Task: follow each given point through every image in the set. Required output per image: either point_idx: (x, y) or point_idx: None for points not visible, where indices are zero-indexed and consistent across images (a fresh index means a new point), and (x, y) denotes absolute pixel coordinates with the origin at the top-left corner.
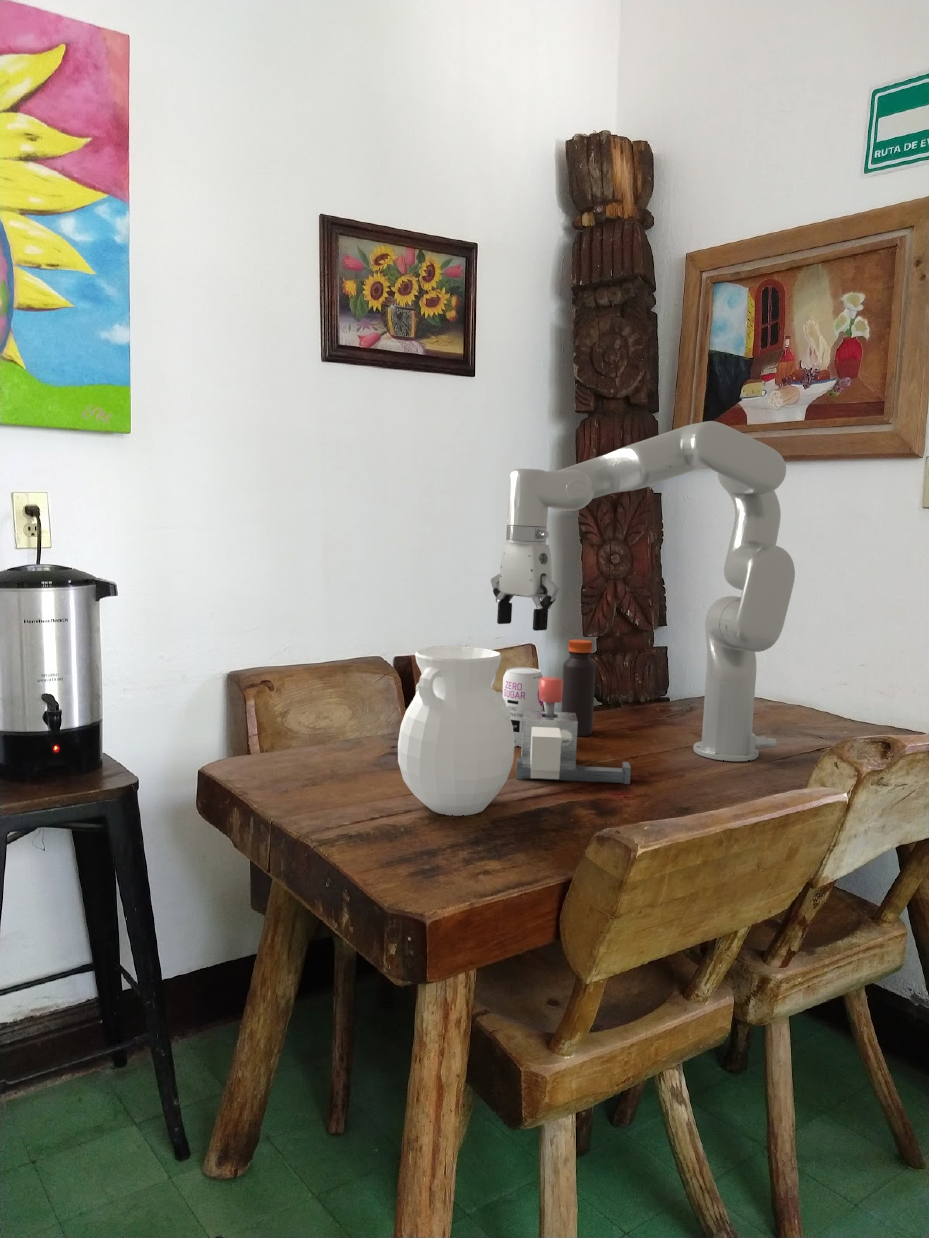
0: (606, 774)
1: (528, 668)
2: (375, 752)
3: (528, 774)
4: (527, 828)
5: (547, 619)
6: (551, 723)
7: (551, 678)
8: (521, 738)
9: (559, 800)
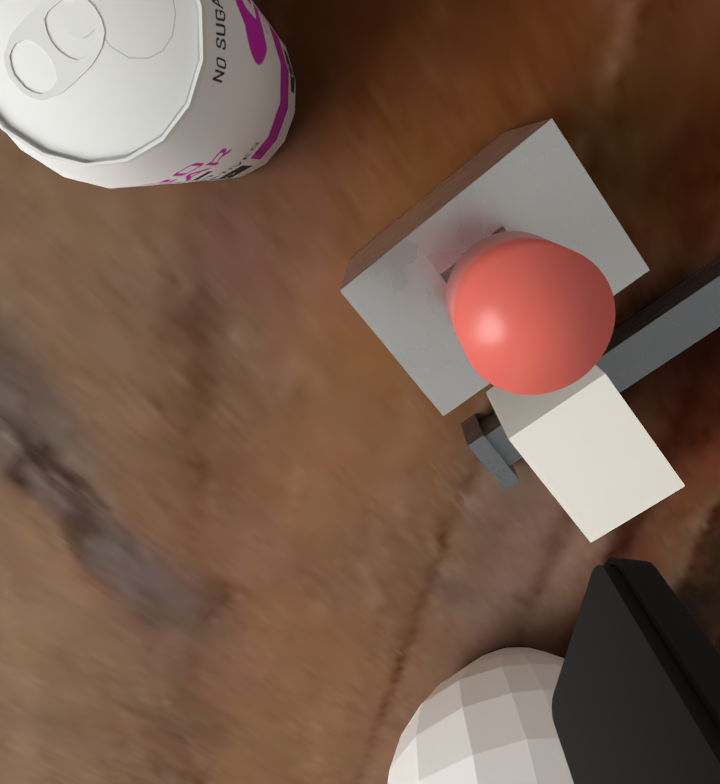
0: None
1: None
2: (42, 550)
3: None
4: None
5: (714, 653)
6: None
7: (524, 302)
8: (264, 159)
9: (686, 523)
